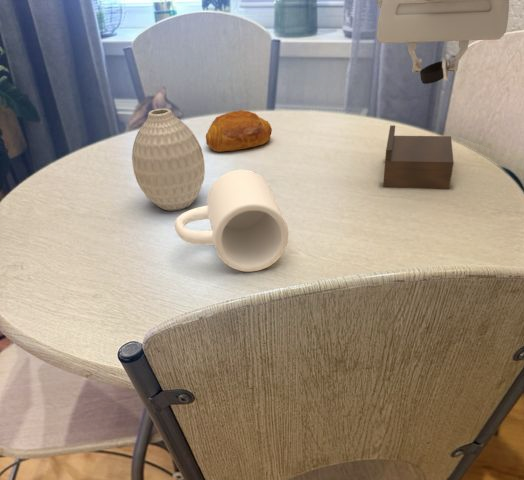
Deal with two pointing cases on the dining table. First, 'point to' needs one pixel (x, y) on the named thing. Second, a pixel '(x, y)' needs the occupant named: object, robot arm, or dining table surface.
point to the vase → (168, 161)
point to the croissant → (237, 131)
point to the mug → (239, 222)
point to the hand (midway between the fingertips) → (434, 70)
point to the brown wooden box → (418, 161)
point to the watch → (435, 72)
